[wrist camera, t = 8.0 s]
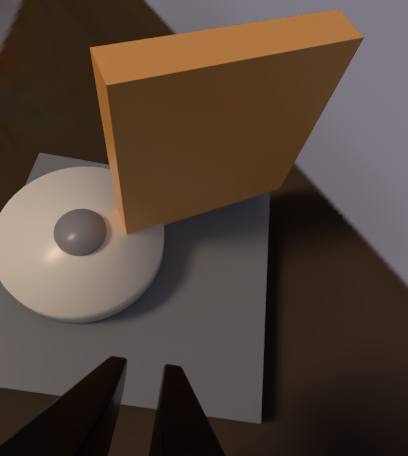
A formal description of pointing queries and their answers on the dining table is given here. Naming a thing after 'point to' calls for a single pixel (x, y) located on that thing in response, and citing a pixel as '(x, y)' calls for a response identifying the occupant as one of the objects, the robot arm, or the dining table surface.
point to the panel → (163, 317)
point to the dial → (169, 155)
